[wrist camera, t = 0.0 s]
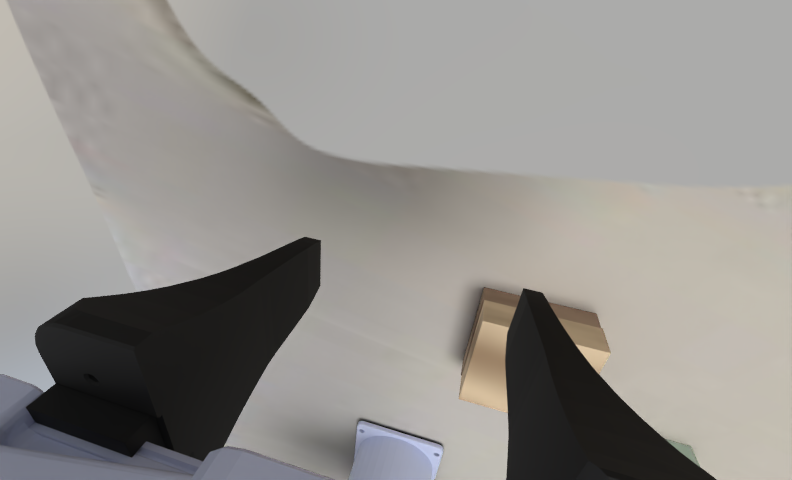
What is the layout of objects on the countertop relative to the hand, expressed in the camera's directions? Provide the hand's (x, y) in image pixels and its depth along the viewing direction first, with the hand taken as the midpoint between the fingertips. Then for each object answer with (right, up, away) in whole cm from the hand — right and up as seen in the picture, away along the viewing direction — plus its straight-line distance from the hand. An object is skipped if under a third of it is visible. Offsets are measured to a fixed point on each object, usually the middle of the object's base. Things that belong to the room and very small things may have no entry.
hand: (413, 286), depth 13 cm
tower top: (+8, -6, +11) cm, 15 cm away
